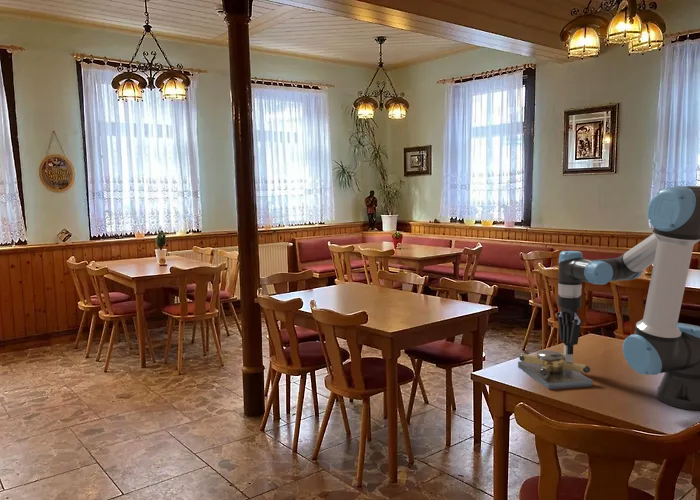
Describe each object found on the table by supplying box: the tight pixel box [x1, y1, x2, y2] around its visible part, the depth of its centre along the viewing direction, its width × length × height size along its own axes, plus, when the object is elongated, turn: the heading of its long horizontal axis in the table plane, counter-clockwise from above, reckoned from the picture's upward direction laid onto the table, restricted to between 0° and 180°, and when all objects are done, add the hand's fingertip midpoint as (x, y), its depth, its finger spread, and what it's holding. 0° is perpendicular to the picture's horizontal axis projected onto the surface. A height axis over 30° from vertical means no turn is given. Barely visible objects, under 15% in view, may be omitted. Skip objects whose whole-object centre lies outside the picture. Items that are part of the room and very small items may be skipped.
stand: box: [517, 360, 593, 390], centre depth 194 cm, size 22×15×3 cm
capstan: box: [519, 349, 591, 376], centre depth 194 cm, size 24×24×5 cm
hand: (568, 362), depth 200 cm, fingers closed
